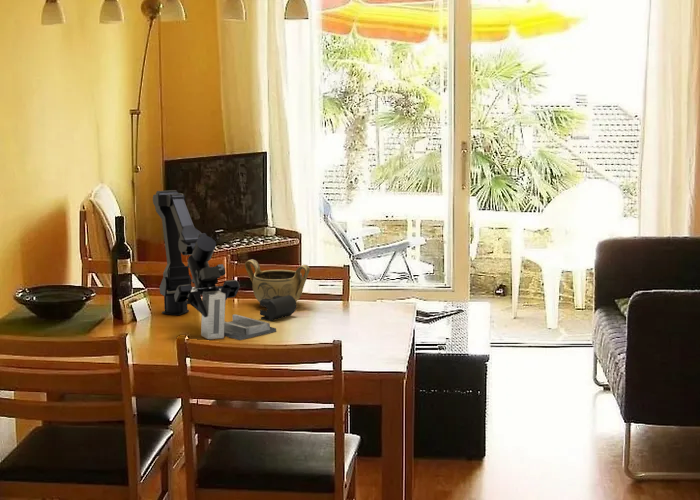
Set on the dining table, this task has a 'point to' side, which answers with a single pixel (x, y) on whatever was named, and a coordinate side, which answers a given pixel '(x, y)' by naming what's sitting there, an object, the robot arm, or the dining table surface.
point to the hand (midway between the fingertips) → (214, 315)
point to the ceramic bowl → (276, 281)
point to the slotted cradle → (246, 328)
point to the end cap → (277, 307)
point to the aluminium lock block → (213, 315)
